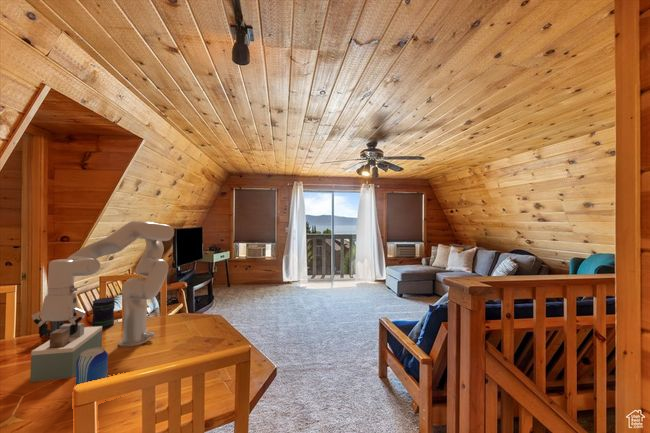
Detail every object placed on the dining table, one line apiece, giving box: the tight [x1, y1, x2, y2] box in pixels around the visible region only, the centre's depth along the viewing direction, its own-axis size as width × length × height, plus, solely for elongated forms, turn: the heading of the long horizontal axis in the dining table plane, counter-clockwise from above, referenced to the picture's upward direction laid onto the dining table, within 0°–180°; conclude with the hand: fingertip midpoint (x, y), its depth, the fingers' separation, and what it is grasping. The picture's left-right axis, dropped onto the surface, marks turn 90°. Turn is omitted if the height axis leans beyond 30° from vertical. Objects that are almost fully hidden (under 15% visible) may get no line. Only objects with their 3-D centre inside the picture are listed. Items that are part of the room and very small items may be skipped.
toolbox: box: [29, 330, 103, 383], centre depth 116 cm, size 13×22×10 cm, turn 15°
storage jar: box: [91, 297, 116, 331], centre depth 156 cm, size 10×10×15 cm
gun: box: [44, 321, 65, 338], centre depth 141 cm, size 3×17×15 cm
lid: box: [30, 322, 103, 356], centre depth 116 cm, size 13×22×6 cm, turn 15°
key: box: [49, 329, 69, 348], centre depth 110 cm, size 4×4×16 cm
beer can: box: [75, 347, 109, 386], centre depth 96 cm, size 8×8×16 cm
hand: (58, 334), depth 109 cm, fingers open, 9 cm apart
